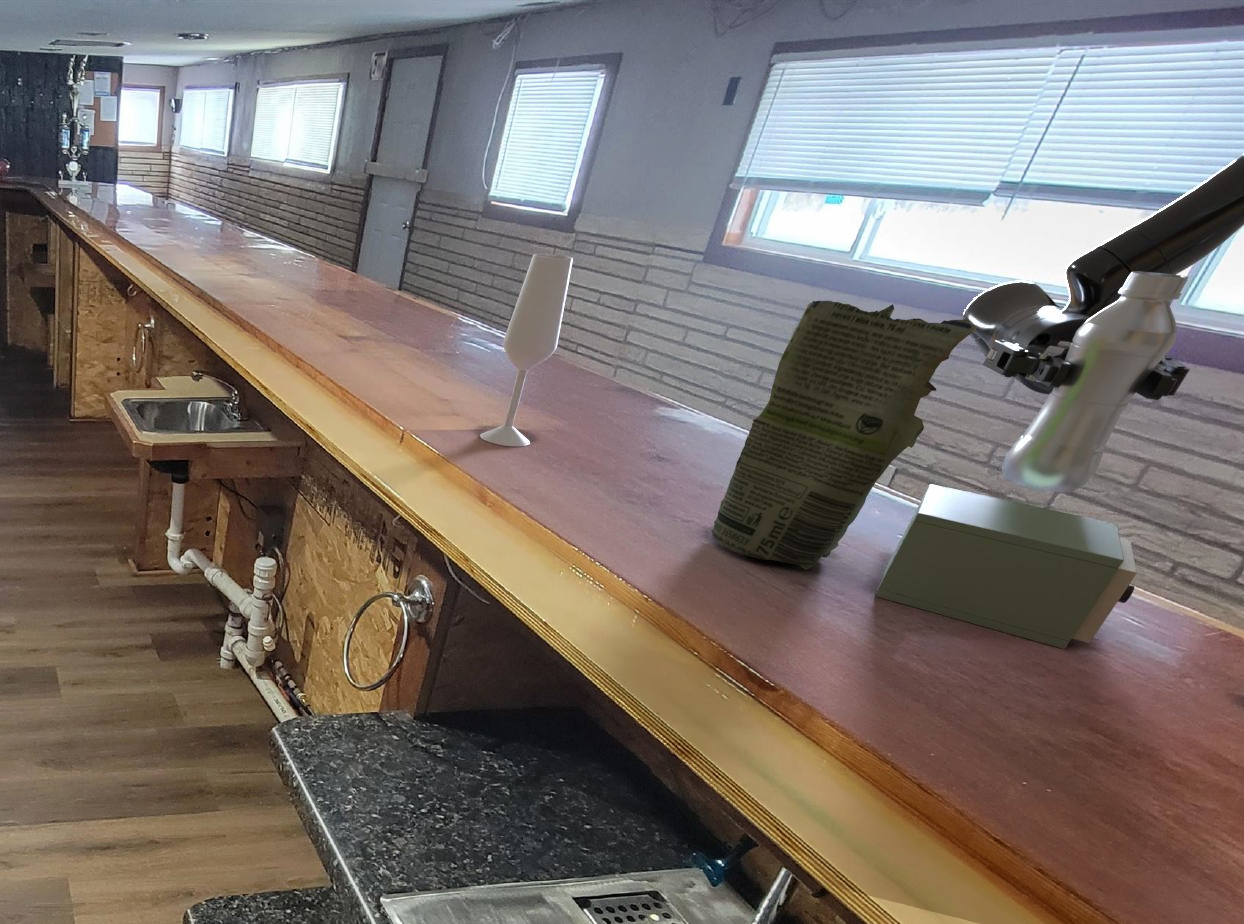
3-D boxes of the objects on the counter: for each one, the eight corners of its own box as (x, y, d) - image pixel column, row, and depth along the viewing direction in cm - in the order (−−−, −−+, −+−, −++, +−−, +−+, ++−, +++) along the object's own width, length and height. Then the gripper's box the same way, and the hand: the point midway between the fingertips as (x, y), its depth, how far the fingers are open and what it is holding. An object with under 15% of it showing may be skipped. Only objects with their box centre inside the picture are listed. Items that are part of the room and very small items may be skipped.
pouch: (701, 524, 100) (794, 289, 88) (824, 543, 96) (939, 301, 84) (720, 562, 91) (826, 306, 78) (857, 584, 87) (991, 320, 75)
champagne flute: (492, 429, 130) (537, 251, 118) (537, 440, 126) (589, 257, 114) (471, 437, 125) (516, 254, 113) (518, 449, 121) (569, 261, 109)
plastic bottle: (976, 474, 92) (1088, 267, 82) (1048, 480, 91) (1169, 271, 81) (1022, 497, 86) (1148, 277, 76) (1099, 502, 85) (1236, 282, 75)
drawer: (1104, 609, 83) (1149, 542, 79) (1108, 648, 76) (1157, 577, 73) (920, 562, 91) (954, 500, 87) (909, 594, 84) (945, 527, 80)
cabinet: (1063, 607, 85) (1118, 523, 81) (1064, 649, 77) (1124, 560, 73) (889, 561, 93) (929, 483, 88) (874, 596, 85) (918, 512, 81)
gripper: (1125, 397, 93) (1191, 436, 80) (951, 376, 99) (988, 409, 86) (1170, 322, 89) (1247, 351, 76) (987, 305, 95) (1030, 329, 82)
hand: (1109, 382), depth 81 cm, fingers closed on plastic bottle, 6 cm apart
